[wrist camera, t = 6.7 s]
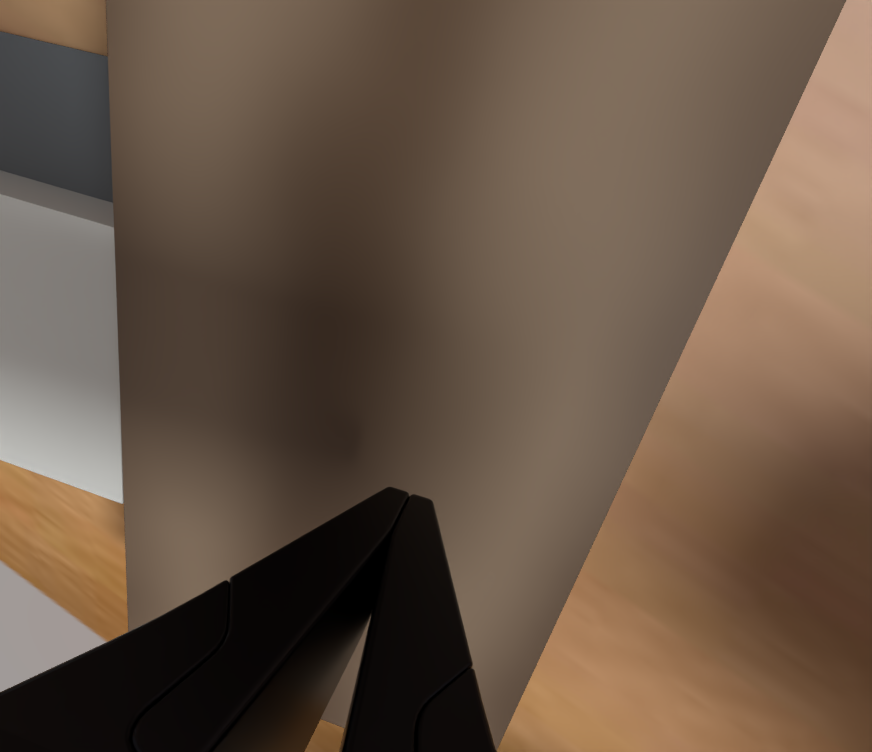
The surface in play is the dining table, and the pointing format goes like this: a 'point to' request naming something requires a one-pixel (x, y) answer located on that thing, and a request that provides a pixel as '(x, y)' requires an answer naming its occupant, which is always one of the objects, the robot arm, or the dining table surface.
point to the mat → (55, 115)
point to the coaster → (59, 336)
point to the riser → (421, 272)
